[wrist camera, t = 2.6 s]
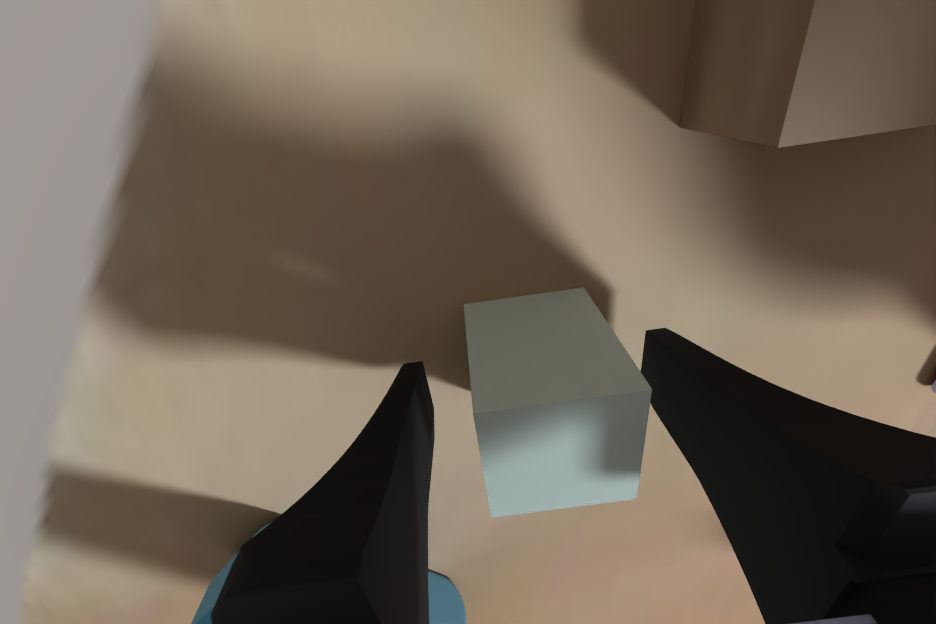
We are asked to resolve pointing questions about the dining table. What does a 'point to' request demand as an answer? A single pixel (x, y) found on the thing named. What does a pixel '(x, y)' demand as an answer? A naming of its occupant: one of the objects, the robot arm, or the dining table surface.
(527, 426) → the sage block
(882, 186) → the dining table surface
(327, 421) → the dining table surface
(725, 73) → the walnut block
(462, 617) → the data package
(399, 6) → the dining table surface
